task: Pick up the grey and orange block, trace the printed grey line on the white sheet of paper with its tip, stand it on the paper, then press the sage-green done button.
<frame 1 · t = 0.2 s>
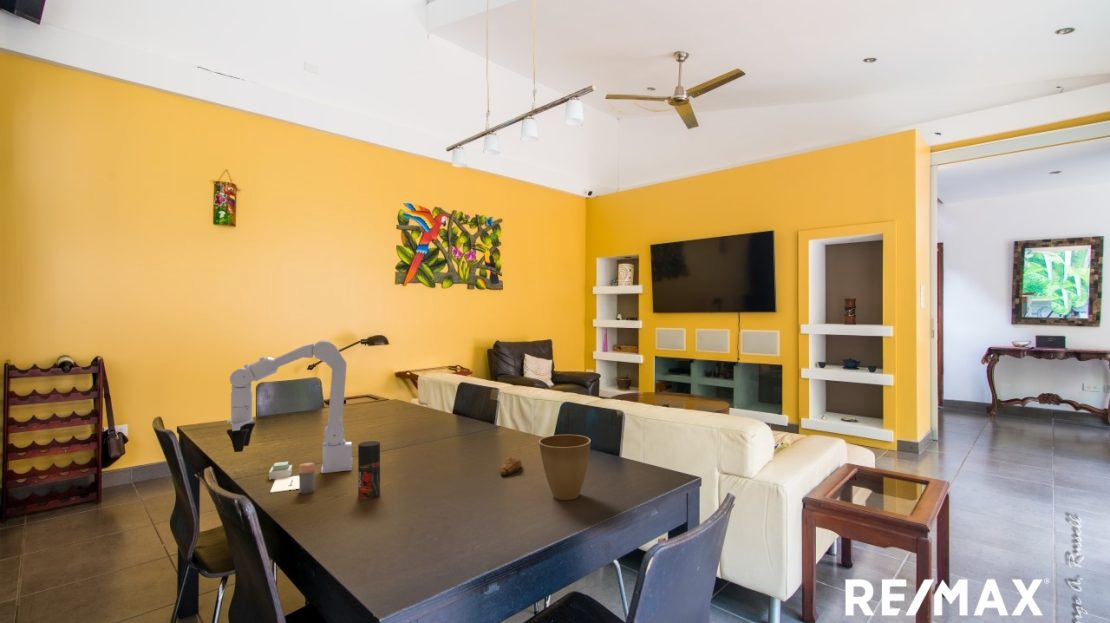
hand: (241, 448, 160), 10 cm above the table, tool pointing down, fingers open, 7 cm apart
paper sheet: (291, 483, 157), on the table
croissant: (511, 472, 168), on the table
grey and orange block: (306, 491, 149), on the table
plant pot: (565, 496, 144), on the table
button housing: (280, 476, 164), on the table
deodorant: (369, 496, 146), on the table
done button: (280, 467, 164), point 3 cm above the table, slide at 0.0 cm
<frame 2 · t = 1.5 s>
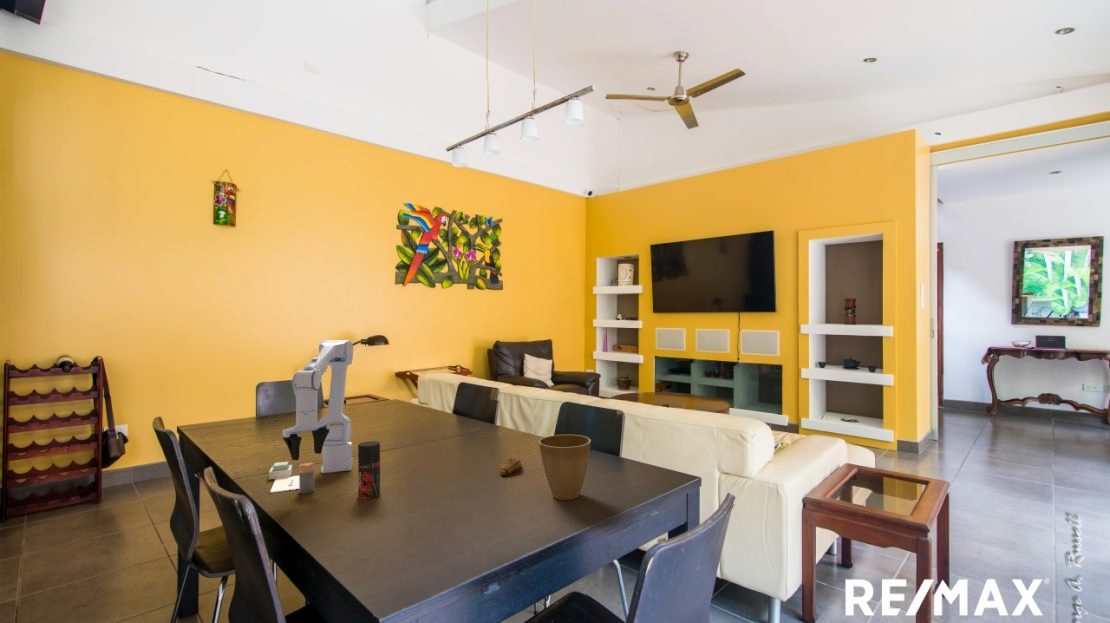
hand: (306, 456, 149), 10 cm above the table, tool pointing down, fingers open, 7 cm apart
nothing on the table moved.
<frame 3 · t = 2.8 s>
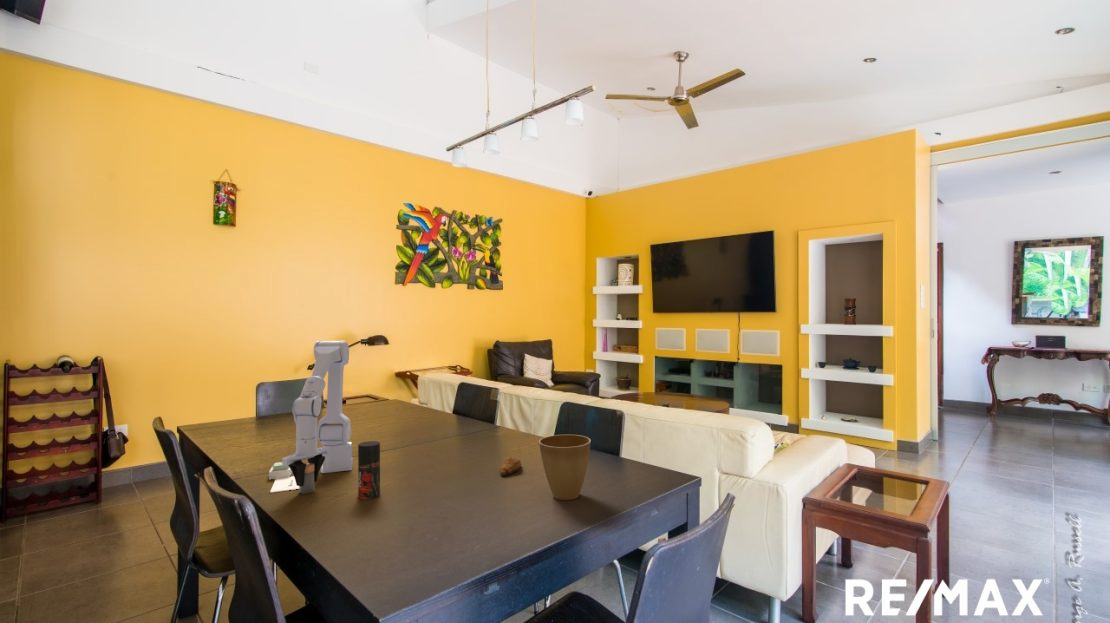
hand: (306, 483, 149), 2 cm above the table, tool pointing down, fingers closed on grey and orange block, 4 cm apart
grey and orange block: (306, 491, 149), on the table, touching gripper
everything else where it was.
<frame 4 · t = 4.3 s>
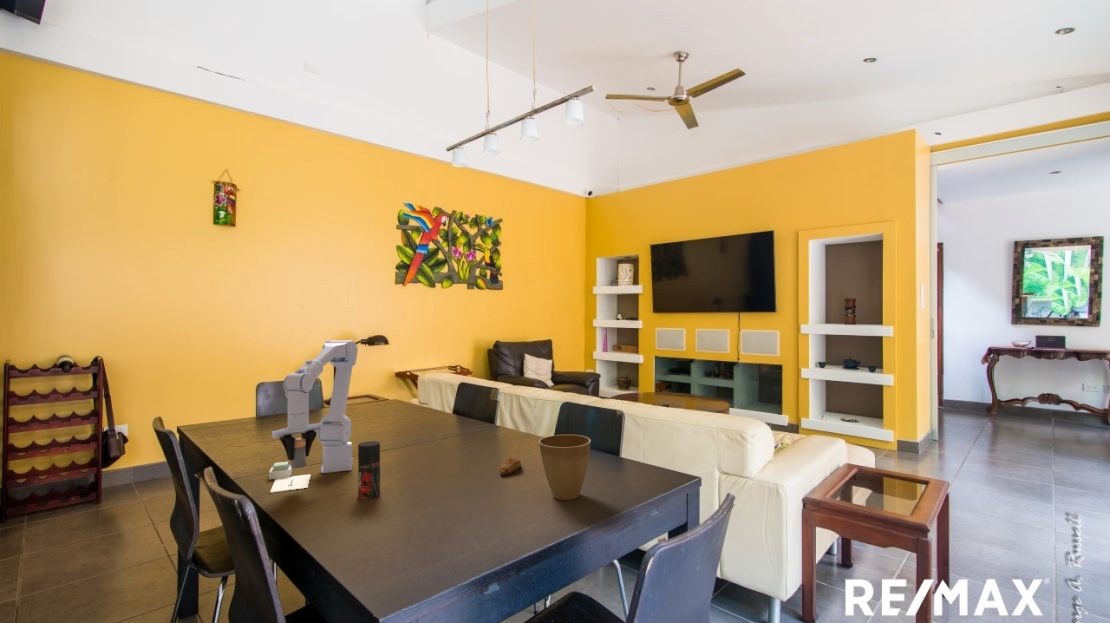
hand: (298, 457, 152), 9 cm above the table, tool pointing down, fingers closed on grey and orange block, 4 cm apart
grey and orange block: (298, 465, 152), point 7 cm above the table, touching gripper
everything else where it was.
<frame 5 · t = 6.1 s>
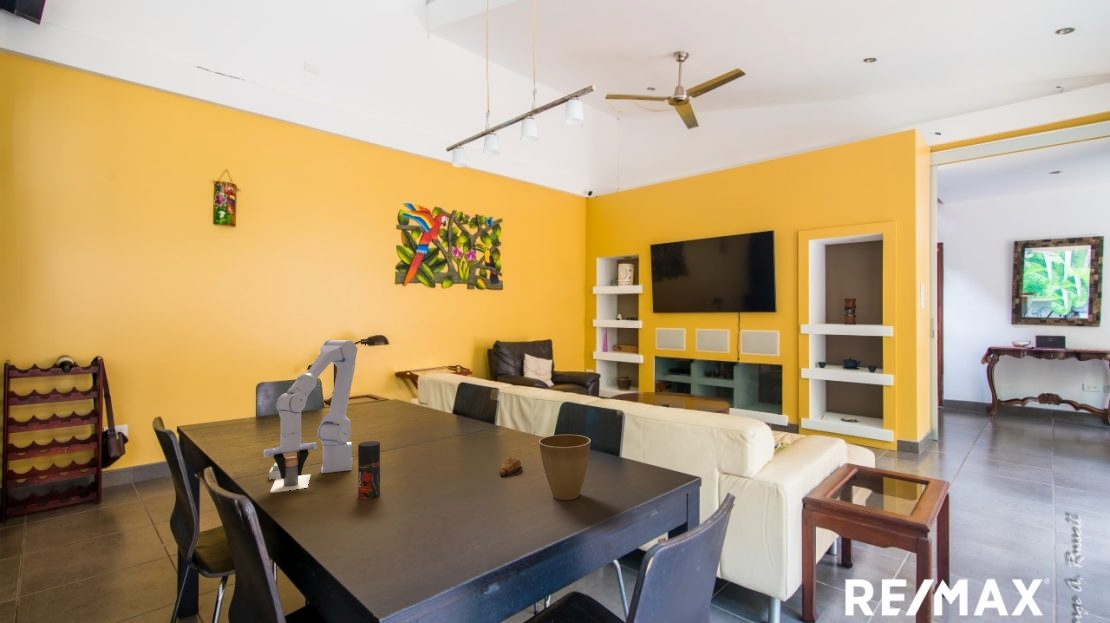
hand: (290, 476, 155), 3 cm above the table, tool pointing down, fingers closed on grey and orange block, 4 cm apart
grey and orange block: (291, 484, 155), resting on paper sheet, touching gripper
everything else where it was.
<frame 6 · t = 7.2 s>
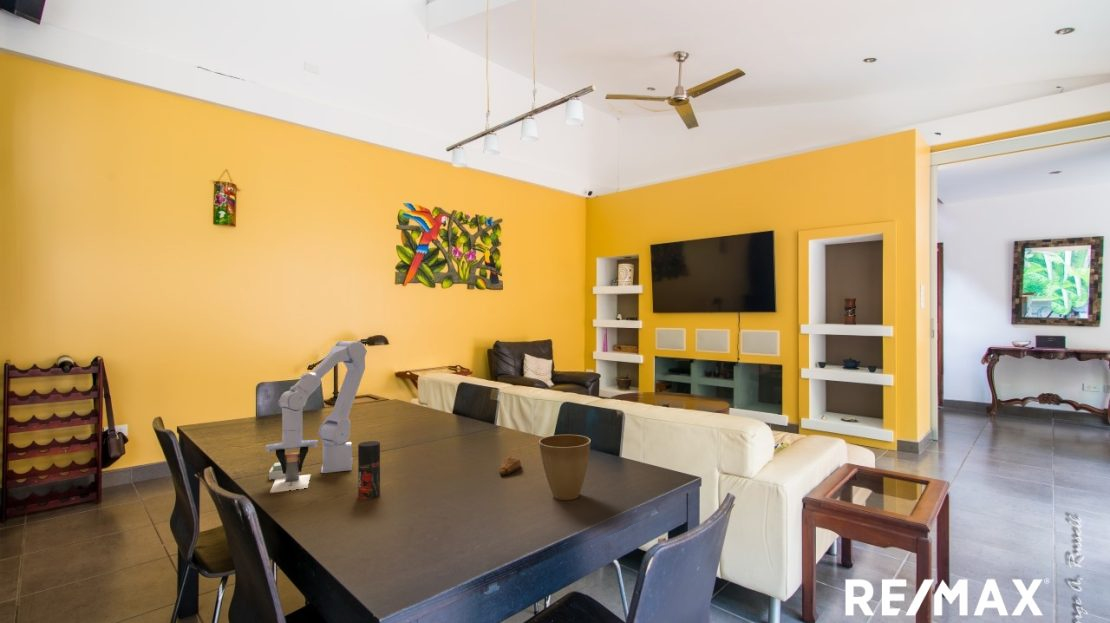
hand: (292, 471, 159), 3 cm above the table, tool pointing down, fingers closed on grey and orange block, 4 cm apart
grey and orange block: (292, 479, 159), resting on paper sheet, touching gripper
everything else where it was.
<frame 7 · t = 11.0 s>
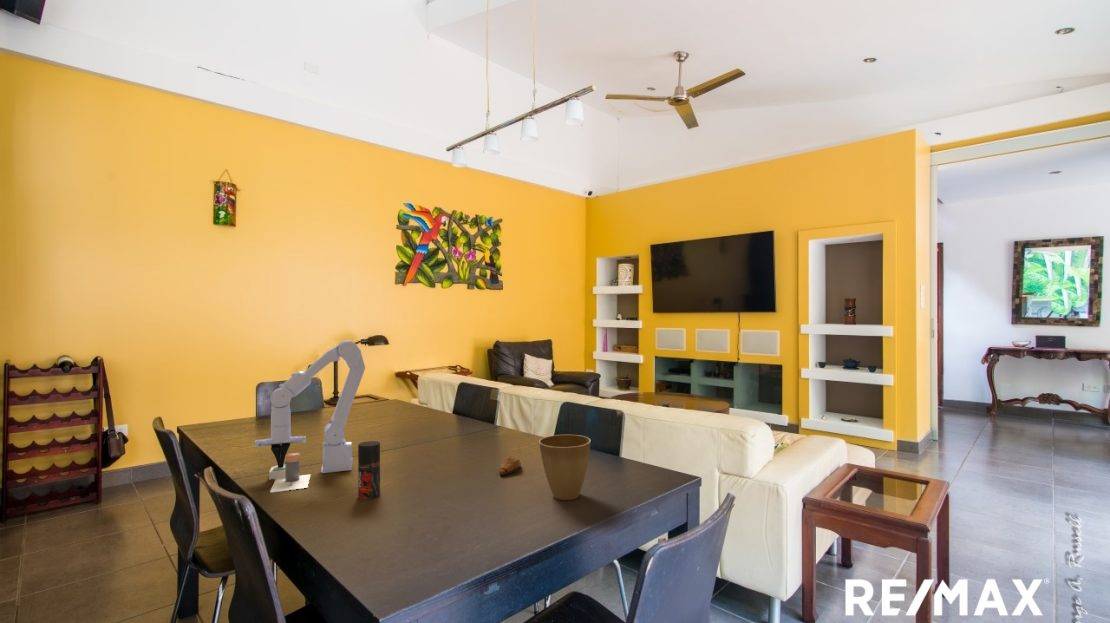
hand: (280, 466, 164), 3 cm above the table, tool pointing down, fingers closed, pressing on done button
grey and orange block: (292, 479, 159), resting on paper sheet
done button: (280, 470, 164), point 2 cm above the table, slide at 0.9 cm, touching gripper
everything else where it was.
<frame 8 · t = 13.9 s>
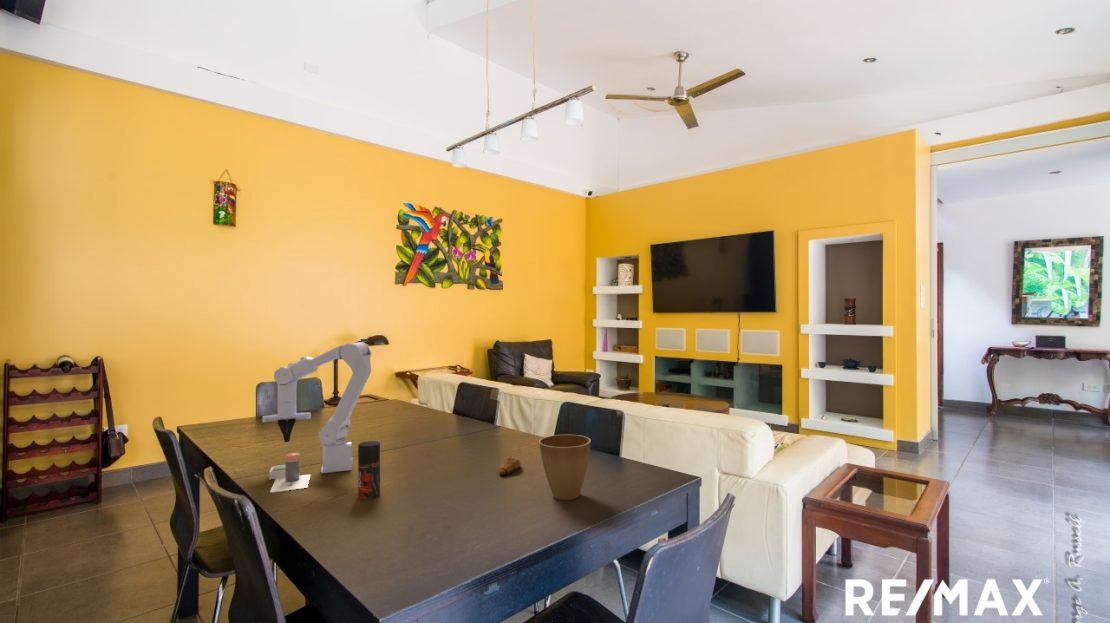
hand: (287, 441, 172), 9 cm above the table, tool pointing down, fingers closed
done button: (280, 470, 164), point 2 cm above the table, slide at 0.9 cm
everything else where it was.
at the end: grey and orange block inside the target area on the paper sheet (2.9 cm from its centre), point 0.3 cm above the paper sheet's base; grey and orange block tilted 0°; done button slide at 0.9 cm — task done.
